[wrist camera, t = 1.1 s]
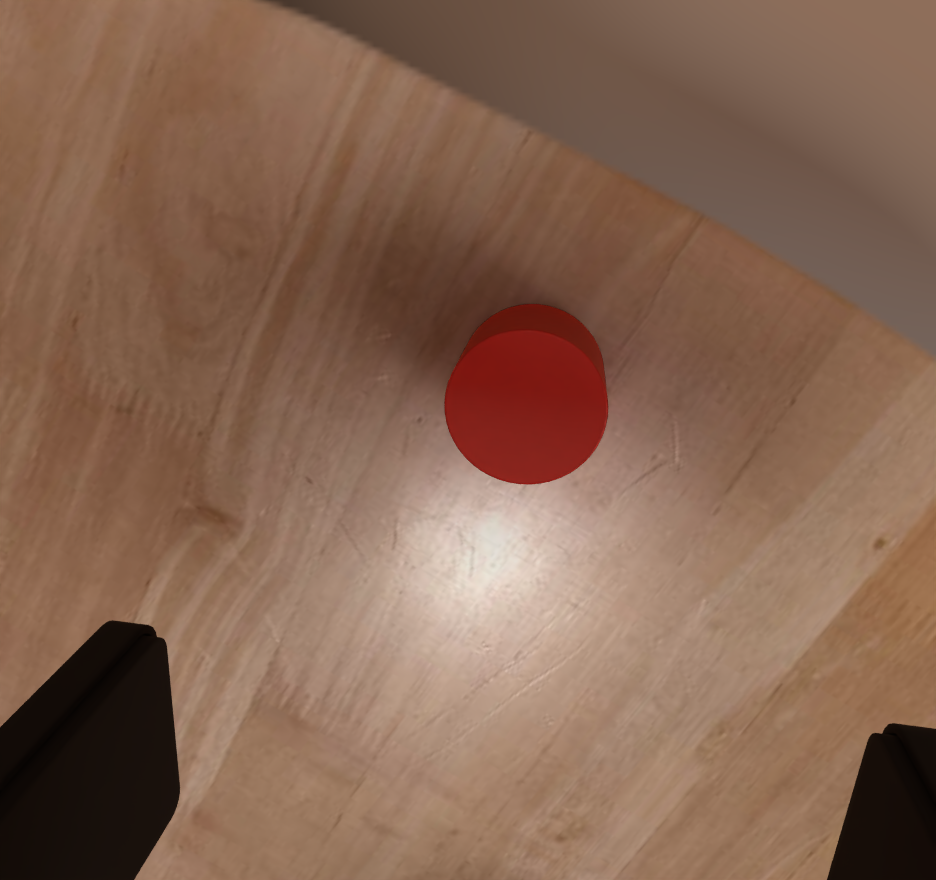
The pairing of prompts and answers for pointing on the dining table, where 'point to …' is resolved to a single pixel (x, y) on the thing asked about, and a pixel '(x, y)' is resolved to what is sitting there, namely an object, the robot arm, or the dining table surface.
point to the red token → (528, 395)
